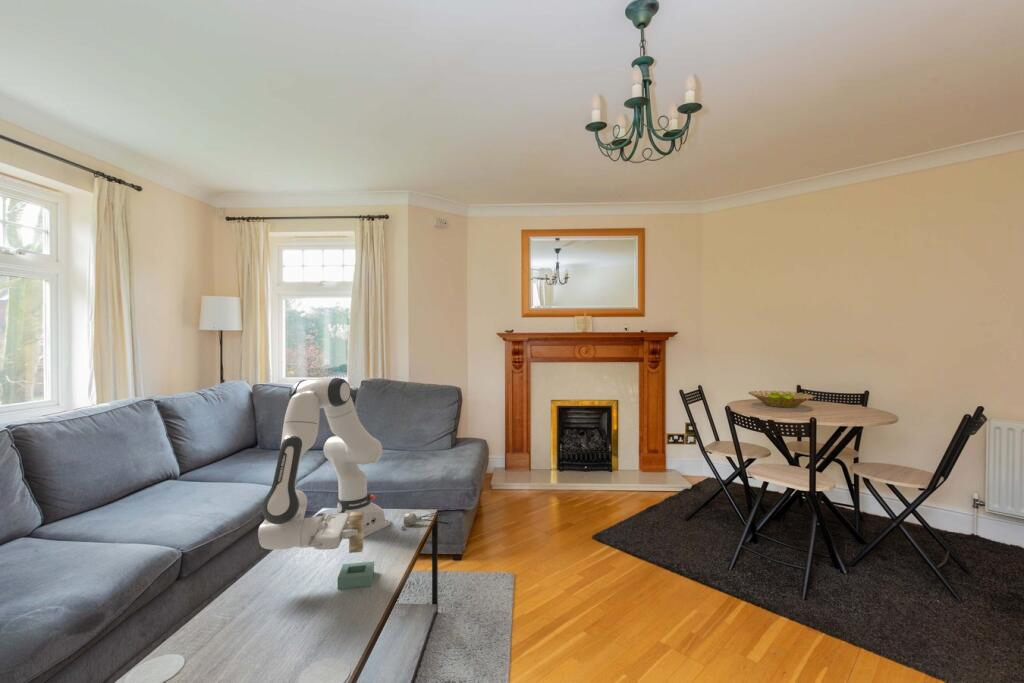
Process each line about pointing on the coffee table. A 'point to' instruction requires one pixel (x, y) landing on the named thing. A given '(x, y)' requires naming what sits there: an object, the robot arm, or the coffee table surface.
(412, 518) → the reed diffuser
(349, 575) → the sage square frame
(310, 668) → the coffee table surface
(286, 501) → the robot arm
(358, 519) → the light wooden block
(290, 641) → the coffee table surface
